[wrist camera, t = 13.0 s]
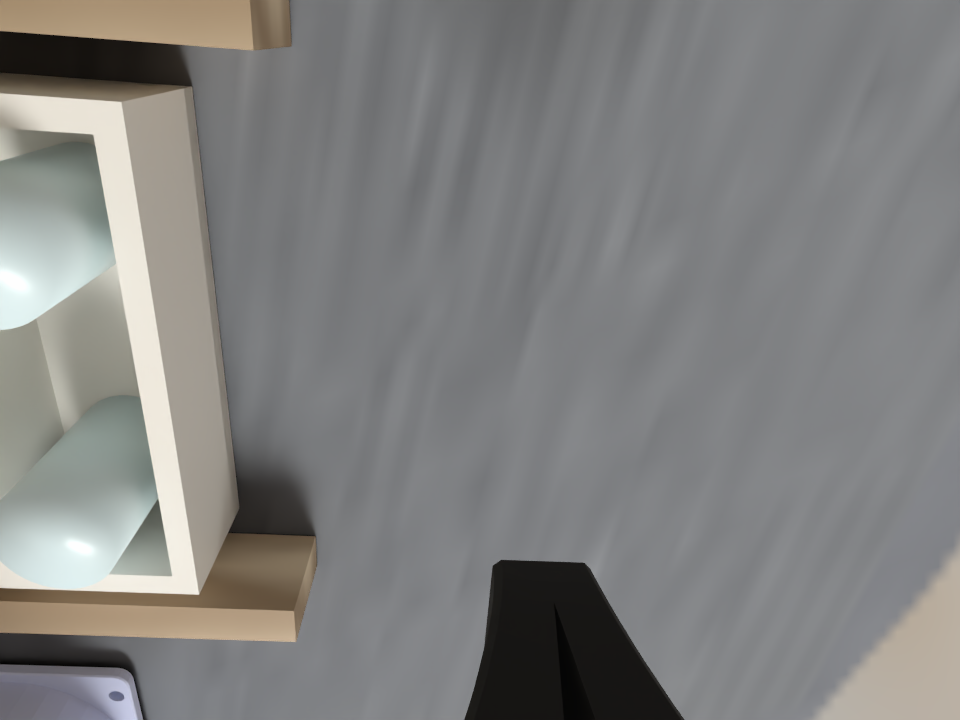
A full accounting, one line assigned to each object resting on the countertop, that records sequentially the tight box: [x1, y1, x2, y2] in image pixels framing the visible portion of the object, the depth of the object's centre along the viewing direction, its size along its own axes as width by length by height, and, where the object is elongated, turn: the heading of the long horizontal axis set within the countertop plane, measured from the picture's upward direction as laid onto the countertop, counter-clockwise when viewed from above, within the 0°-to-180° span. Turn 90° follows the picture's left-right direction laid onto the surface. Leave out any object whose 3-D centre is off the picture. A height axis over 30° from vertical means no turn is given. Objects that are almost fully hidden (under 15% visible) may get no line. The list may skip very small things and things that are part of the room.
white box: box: [0, 73, 240, 595], centre depth 16 cm, size 12×5×5 cm, turn 176°
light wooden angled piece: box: [0, 0, 317, 642], centre depth 15 cm, size 16×13×5 cm
